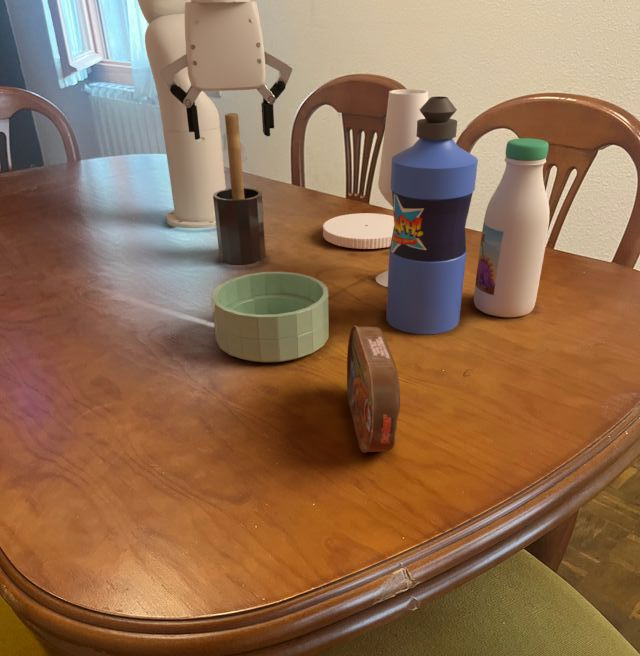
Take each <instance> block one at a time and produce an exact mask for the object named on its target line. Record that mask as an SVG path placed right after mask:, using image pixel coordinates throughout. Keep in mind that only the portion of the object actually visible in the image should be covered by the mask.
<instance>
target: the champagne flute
mask: <svg viewBox="0 0 640 656" xmlns="http://www.w3.org/2000/svg"><path fill="white" fill-rule="evenodd" d="M428 100H429V91H428V90H427V89H419V88H418V89H416V88H402V89H401V88H400V89H393V90H389V91H388V98H387V107H386V114H385V115H386V116H385V125H384V132H383V139H382V140H383V141H382V149H381V159H380V165H379V175H378V182H377V185H378V189H379V192H380V194H381V195H382V197H383V198H384V199H385V201H386V202H387V203H388V204H389V205H390V206H391V207H392V208H393V199H392V190H391V164H392V157H393V156H395V155H397V154H398V153H400V152H402V151H404V150H406V149H408V148H410V147H412V146H413V145H414V144H415V143H416V142H417V141H418V140H419V138H418V137H417V136H416V135H417V121H418V120H420V119H425V117H424V116H423V114H422V113H421V112H420V108H421V107H422V106H423V105H424V104H425V103H426V102H427V101H428ZM375 282H376V283H377V284H379V285H381V286H383V287H386V288H388V269H387V270H385V271H384V272H381V273H380V274H378V275H377V276H376V277H375Z"/></svg>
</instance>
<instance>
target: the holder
mask: <svg viewBox="0 0 640 656" xmlns="http://www.w3.org/2000/svg"><path fill="white" fill-rule="evenodd" d="M244 197H245V199H238V200H234V199H232V191H231V187H230V188H226V189H224V190H220V191H218V192H216V193H214V195H213V200H214V210H215V219H216V226H215V227H216V228H215V229H216V237H217V249H218V258H219V260H220V262H222V263H223V264H226V265H231V266H247V265H254V264H257V263H260V262H262V261H264V260H265V259H266V256H267V254H266V250H267V249H266V237H265V235H266V234H265V221H264V219H265V218H264V207H263V192H262V191H261V190H259V189H257V188H251V187H244Z"/></svg>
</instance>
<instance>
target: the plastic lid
mask: <svg viewBox="0 0 640 656" xmlns="http://www.w3.org/2000/svg"><path fill="white" fill-rule="evenodd" d="M393 229H394V215H390V214H383V213H375V212H374V213H372V212H370V213H369V212H366V213H365V212H363V213H361V212H358V213H349V214H342V215H337V216H334V217H331V218H329V219H327V220H325V222H323V225H322V238H323V239H324V240H325V241H326V242H328V243H330V244H332V245H334V246H338V247H344V248H348V249H350V248H351V249H357V250H358V249H359V250H361V249H363V250H366V249H367V250H370V249H371V250H374V249H382V248H383V249H385V248H390V246H391V240H392V234H393Z"/></svg>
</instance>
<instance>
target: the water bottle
mask: <svg viewBox="0 0 640 656" xmlns="http://www.w3.org/2000/svg"><path fill="white" fill-rule="evenodd" d="M457 110H458V109H457V108H456V106H455V105H454V104H453V102H452V101H451V100H450V99H449V97H447V96H440V95H439V96H438V95H437V96H431V97H430V98H428V101H427V102H426V103H425V104H424V105H423V106H422V107H421V108H420V112H421V113H422V114H423V116H424V117H425V119H420V120H418V121H417V135H416V136H417V137H418V138H419V140H418V141H417V142H416V143H415V144H414V145H413V146H412V147H410V148H408V149H406V150H404V151H402V152H400V153H398V154H397V155H395V156H393V157H392V164H391V190H392V199H393V207H392V211H393V216H394V229H393V234H392V240H391V246H389V249H388V250H389V253H388V269H387V270H388V287H387V295H386V322H387V323H388V324H389V325H390V327H392V328H394V329H396V330H398V331H401V332H404V333H409V334H414V335H436V334H442V333H443V334H444V333H447V332H449V331H451V330H453V329H455V328H456V327H458V325H459V323H460V315H461V307H462V300H463V299H462V298H463V289H464V279H465V270H466V269H465V268H466V260H467V259H466V258H467V245H466V244H467V243H466V241H467V240H466V225H467V219H468V216H469V213H470V212H469V211H470V207H471V203H472V198H473V197H472V196H473V193H474V192H475V189H476V181H477V171H478V164H479V163H478V162H479V159H478V157H476V156H475V155H473V154H472V153H470V152H468V151H466V150H464V149H463V148H461V147H459V145H458V144H457V143H456V141H455V140H454V138H456V137H457V129H458V120H457V119H453V118H452V116H453V115H455V113H456V112H457Z"/></svg>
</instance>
